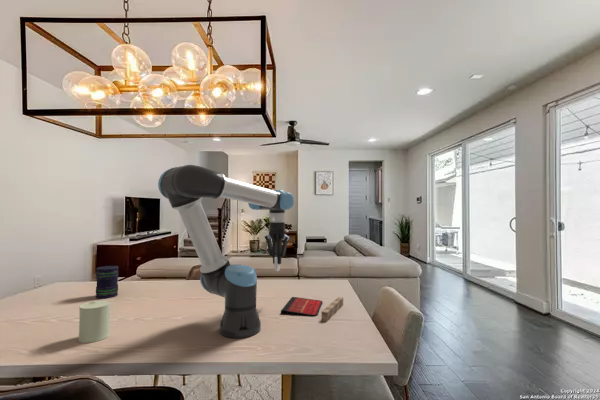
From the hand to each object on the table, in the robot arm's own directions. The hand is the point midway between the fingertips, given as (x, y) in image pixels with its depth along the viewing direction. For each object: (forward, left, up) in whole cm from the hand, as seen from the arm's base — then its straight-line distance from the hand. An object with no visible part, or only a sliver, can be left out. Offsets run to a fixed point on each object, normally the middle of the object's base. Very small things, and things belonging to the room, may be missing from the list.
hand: (277, 270), depth 145 cm
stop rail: (0, -28, -16) cm, 33 cm away
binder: (0, -14, -17) cm, 22 cm away
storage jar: (-27, +86, -16) cm, 92 cm away
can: (-61, +40, -16) cm, 74 cm away
